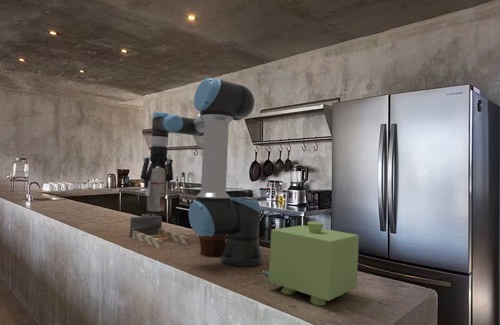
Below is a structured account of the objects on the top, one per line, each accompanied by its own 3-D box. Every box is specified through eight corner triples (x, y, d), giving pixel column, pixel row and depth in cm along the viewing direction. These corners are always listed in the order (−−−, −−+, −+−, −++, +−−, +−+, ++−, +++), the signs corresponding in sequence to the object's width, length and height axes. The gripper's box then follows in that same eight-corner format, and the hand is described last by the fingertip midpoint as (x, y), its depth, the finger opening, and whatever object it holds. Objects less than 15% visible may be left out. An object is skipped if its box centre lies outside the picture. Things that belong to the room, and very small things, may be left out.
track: (189, 244, 149) (190, 223, 150) (159, 248, 139) (160, 226, 139) (157, 233, 169) (158, 215, 169) (129, 236, 158) (130, 217, 159)
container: (356, 295, 97) (359, 224, 97) (327, 310, 85) (331, 229, 85) (299, 278, 109) (302, 216, 110) (267, 289, 97) (271, 219, 98)
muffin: (193, 251, 138) (195, 226, 138) (219, 249, 143) (220, 225, 143) (203, 258, 127) (205, 231, 128) (230, 256, 133) (232, 230, 133)
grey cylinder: (153, 212, 152) (156, 167, 152) (142, 210, 157) (145, 166, 157) (168, 211, 158) (171, 168, 159) (157, 209, 163) (160, 167, 164)
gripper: (174, 148, 168) (171, 194, 168) (134, 144, 154) (130, 194, 153) (183, 148, 163) (180, 195, 162) (142, 143, 148) (138, 196, 148)
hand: (156, 195), depth 158 cm, fingers closed on grey cylinder, 8 cm apart
